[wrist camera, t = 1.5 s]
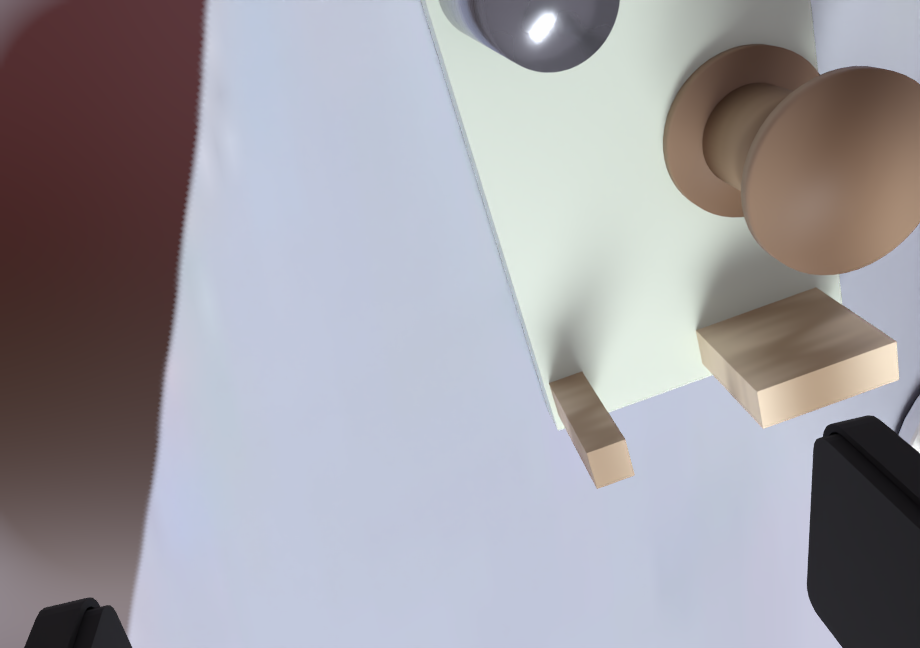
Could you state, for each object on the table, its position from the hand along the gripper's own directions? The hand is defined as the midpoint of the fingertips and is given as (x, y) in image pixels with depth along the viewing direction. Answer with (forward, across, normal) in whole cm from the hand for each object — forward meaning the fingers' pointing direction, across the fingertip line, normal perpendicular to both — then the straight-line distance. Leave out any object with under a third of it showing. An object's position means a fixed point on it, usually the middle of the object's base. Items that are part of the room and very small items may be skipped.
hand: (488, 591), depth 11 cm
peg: (+19, -5, -6) cm, 21 cm away
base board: (+21, -10, +1) cm, 23 cm away
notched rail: (+19, -11, +9) cm, 24 cm away
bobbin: (+19, -13, 0) cm, 23 cm away
